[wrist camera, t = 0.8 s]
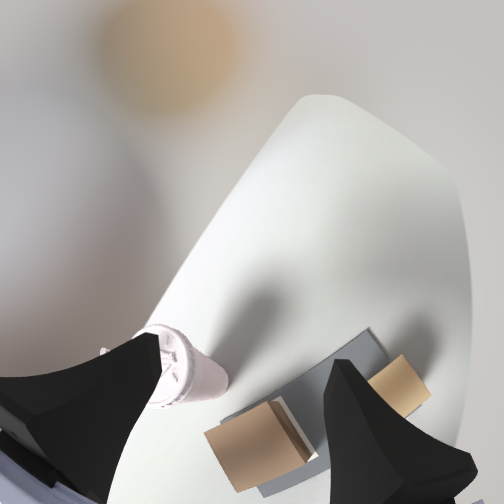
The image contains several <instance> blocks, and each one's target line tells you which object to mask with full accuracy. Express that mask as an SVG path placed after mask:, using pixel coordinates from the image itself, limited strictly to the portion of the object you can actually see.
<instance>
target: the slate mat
mask: <svg viewBox="0 0 504 504" xmlns="http://www.w3.org/2000/svg"><path fill="white" fill-rule="evenodd" d="M334 359H349V360H350V361H351V362H352V363H353V365H354V366H355V367H356V368H357V369H358V371H359V372H360V373H361V374H362V376H363V377H364V378H365V379H366V380H367V381H368V380H370V379H371V378H372V377H374V376H375V375H376V374H378V373H379V372H380V371H381V370H383V369H384V368H385V367H387V366H388V365H389V364H390V363H391V362H390V360H389V359H388V358H387V356H386V355H385V354H384V352H383V351H382V350H381V348H380V347H379V346H378V345H377V343H376V342H375V341H374V339H373V338H372V337H371V335H370V334H369V333H368V331H367V330H366V331H365V332H363V333H362V334H361V335H359V336H358V337H357V338H355V339H354V340H353V341H351V342H350V343H349V344H347V345H346V346H345V347H343V348H342V349H340V350H339V351H338V352H336V353H335V354H333V355H332V356H330V357H329V358H328V359H326V360H325V361H323V362H322V363H320V364H319V365H317V366H316V367H314V368H313V369H311V370H310V371H308V372H307V373H305V374H303V375H302V376H300V377H299V378H297V379H295V380H294V381H292V382H291V383H289V384H287V385H286V386H284V387H282V388H281V389H279V390H277V391H276V392H274V393H272V394H270V395H269V396H267V397H265V398H263V399H262V400H260V401H258V402H256V403H254V404H253V405H251V406H249V407H247V408H245V409H243V410H241V411H239V412H237V413H236V414H234V415H232V416H230V417H228V418H226V419H224V420H222V421H220V423H221V424H223V423H225V422H227V421H229V420H231V419H233V418H235V417H237V416H239V415H241V414H243V413H245V412H247V411H249V410H251V409H253V408H255V407H256V406H258V405H260V404H262V403H264V402H265V401H277V402H279V403H280V404H281V406H282V407H283V409H284V411H285V412H286V414H287V416H288V417H289V419H290V420H291V422H292V424H293V425H294V427H295V428H296V430H297V432H298V433H299V435H300V436H301V438H302V439H303V441H304V443H305V444H306V446H307V447H308V449H309V450H310V452H311V453H312V456H311V457H310V459H309V460H308V461H307V463H306V464H305V465H303V466H301V467H299V468H296V469H294V470H292V471H290V472H288V473H286V474H284V475H281V476H279V477H277V478H275V479H272V480H270V481H267V482H265V483H262V484H260V485H257V488H258V489H259V491H260V493H261V494H262V496H263V497H264V498H265V497H268V496H271V495H273V494H276V493H278V492H281V491H283V490H285V489H288V488H290V487H292V486H295V485H297V484H299V483H301V482H303V481H305V480H308V479H310V478H312V477H314V476H316V475H318V474H320V473H322V472H323V471H325V470H327V469H329V468H331V463H330V454H329V447H328V440H327V434H326V427H325V421H324V409H323V393H324V391H325V388H326V385H327V382H328V378H329V375H330V372H331V369H332V366H333V363H334ZM420 406H421V405H419V406H418V407H417V408H416V409H418V408H419V407H420ZM416 409H415V410H416ZM415 410H413V411H412V412H411V413H410V414H412V413H413V412H414V411H415ZM410 414H409V415H410ZM409 415H407V416H406V417H405V418H407V417H408V416H409Z"/></svg>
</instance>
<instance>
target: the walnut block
mask: <svg viewBox="0 0 504 504" xmlns="http://www.w3.org/2000/svg"><path fill="white" fill-rule="evenodd" d="M204 434H205V436H206V438H207V440H208V442H209V444H210V446H211V448H212V450H213V452H214V454H215V456H216V457H217V459H218V461H219V463H220V465H221V467H222V468H223V470H224V472H225V474H226V475H227V477H228V479H229V480H230V482H231V484H232V486H233V487H234V489H235V490H236V492H237V493H238V492H241V491H244V490H247V489H249V488H252V487H255V486H257V485H260V484H262V483H265V482H267V481H270V480H272V479H275V478H277V477H279V476H281V475H284V474H286V473H288V472H290V471H292V470H294V469H296V468H299V467H301V466H303V465H305V464H306V463H307V461H308V460H309V459H310V457H311V456H312V453H311V452H310V450H309V449H308V447H307V446H306V444H305V443H304V441H303V439H302V438H301V436H300V435H299V433H298V432H297V430H296V428H295V427H294V425H293V424H292V422H291V420H290V419H289V417H288V416H287V414H286V412H285V411H284V409H283V407H282V406H281V404H280V403H279V402H277V401H265V402H264V403H262V404H260V405H258V406H256V407H255V408H253V409H251V410H249V411H247V412H245V413H243V414H241V415H239V416H237V417H235V418H233V419H231V420H229V421H227V422H225V423H223V424H221V425H219V426H217V427H215V428H213V429H210V430H208V431H206V432H204Z"/></svg>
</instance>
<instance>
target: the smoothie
mask: <svg viewBox="0 0 504 504" xmlns="http://www.w3.org/2000/svg"><path fill="white" fill-rule="evenodd" d="M144 332H148V333H153V334H157V335H159V345H160V355H161V364H162V374H161V377H160V379H159V382H158V384H157V386H156V389H155V391H154V393H153V394H152V396H151V398H150V400H149V401H148V403H147V405H146V406H148V407H153V408H157V409H163V408H169V407H172V406H174V405H177V404H178V403H186V402H195V401H203V400H210V399H216V398H219V397H221V396H222V395H223V394H224V393H225V392H226V390H227V388H228V385H229V378H228V374H227V372H226V371H225V370H224V368H222V367H221V366H220V365H218V364H217V363H215V362H214V361H212V360H211V359H210V358H208V357H207V356H205V355H204V354H203V353H201V352H200V351H199V350H197V349H196V348H195V347H193V346H192V344H191V343H190V341H189V340H188V339H187V337H186V336H185V335H184V334H182V333H181V332H180V331H179V330H176V329H173V328H171V327H169V326H166V325H161V324H155V325H150V326H147V327H145V328H143V329H141V330H140V331H139V332H138V333H136V334H135V335H134V336H133V337H132V339H133V338H135V337H137V336H138V335H140V334H142V333H144ZM109 351H111V350H108V349H105V348H102V349H101V351H100V355H103V354H105V353H107V352H109Z"/></svg>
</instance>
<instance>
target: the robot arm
mask: <svg viewBox="0 0 504 504" xmlns="http://www.w3.org/2000/svg"><path fill="white" fill-rule="evenodd" d="M161 374H162V364H161V355H160V345H159V335H157V334H153V333H148V332H144V333H142V334H140V335H138V336H137V337H135V338H133V339H131V340H129V341H128V342H126V343H124V344H122V345H120V346H118V347H116V348H115V349H113V350H111V351H109V352H107V353H105V354H103V355H100V356H98V357H96V358H94V359H92V360H90V361H87V362H85V363H83V364H80V365H77V366H74V367H71V368H68V369H65V370H61V371H56V372H52V373H48V374H43V375H37V376H28V377H0V428H1V429H2V431H1V432H0V503H1V504H107V500H108V496H109V492H110V488H111V484H112V481H113V477H114V474H115V471H116V468H117V465H118V462H119V459H120V457H121V454H122V451H123V449H124V446H125V444H126V442H127V439H128V437H129V434H130V432H131V430H132V429H133V427H134V425H135V423H136V422H137V420H138V418H139V416H140V415H141V413H142V411H143V410H144V408H145V406H146V405H147V403H148V401H149V400H150V398H151V396H152V394H153V393H154V391H155V389H156V386H157V384H158V382H159V379H160V377H161ZM323 409H324V421H325V427H326V434H327V440H328V447H329V454H330V463H331V491H330V504H455V500H454V497H455V496H456V495H458V494H459V493H460V492H461V491H462V490H463V489H465V488H466V487H467V486H468V485H469V484H470V483H471V482H472V481H473V480H474V479H475V477H476V475H477V473H478V470H477V468H476V465H475V463H474V461H473V459H472V456H471V455H470V453H467V452H464V451H462V450H459V449H456V448H454V447H451V446H449V445H447V444H445V443H443V442H441V441H439V440H437V439H435V438H433V437H431V436H429V435H428V434H426V433H425V432H423V431H421V430H420V429H418V428H417V427H415V426H414V425H413V424H411V423H410V422H408V421H407V420H406V419H405V418H404V417H402V416H401V415H400V414H399V413H397V412H396V411H395V410H394V409H393V408H392V407H391V406H390V405H389V404H388V403H387V402H386V401H385V400H384V399H383V398H382V397H381V396H380V395H379V394H378V393H377V392H376V391H375V390H374V389H373V387H372V386H371V385H370V384H369V383H368V382H367V380H366V379H365V378H364V377H363V376H362V374H361V373H360V372H359V371H358V369H357V368H356V367H355V366H354V365H353V363H352V362H351V361H350V360H349V359H334V363H333V366H332V369H331V372H330V375H329V378H328V382H327V385H326V388H325V391H324V393H323ZM473 504H484V502H483V500H479V501H477V502H475V503H473Z"/></svg>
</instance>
